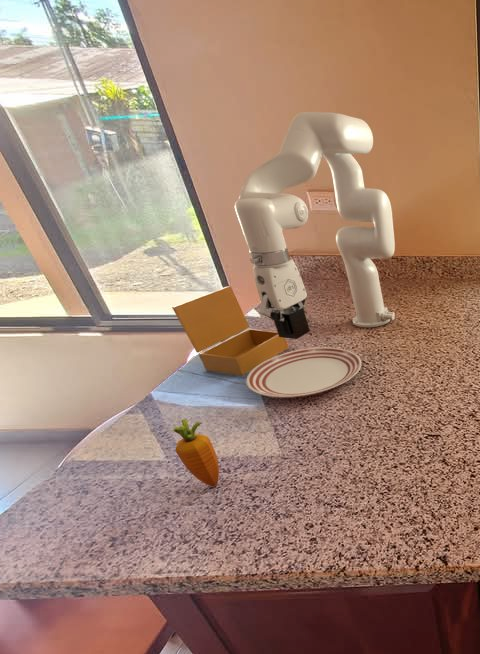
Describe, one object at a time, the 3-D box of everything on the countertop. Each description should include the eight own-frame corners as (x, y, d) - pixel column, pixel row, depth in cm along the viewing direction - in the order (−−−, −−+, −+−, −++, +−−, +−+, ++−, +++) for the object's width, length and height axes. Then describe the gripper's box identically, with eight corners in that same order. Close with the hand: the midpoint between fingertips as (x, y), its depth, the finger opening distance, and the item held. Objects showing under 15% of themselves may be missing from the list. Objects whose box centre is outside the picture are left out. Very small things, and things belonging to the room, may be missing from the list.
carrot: (208, 477, 82) (174, 414, 74) (235, 476, 82) (204, 413, 74) (193, 496, 78) (155, 432, 70) (221, 495, 78) (187, 430, 70)
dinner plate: (339, 346, 130) (336, 337, 129) (380, 380, 114) (378, 369, 112) (237, 377, 114) (233, 366, 112) (269, 421, 97) (264, 409, 96)
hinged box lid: (230, 285, 120) (215, 286, 122) (174, 307, 106) (157, 307, 107) (249, 327, 127) (234, 326, 128) (198, 352, 112) (182, 352, 114)
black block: (310, 331, 109) (303, 307, 105) (296, 339, 104) (289, 314, 101) (293, 329, 109) (285, 305, 106) (279, 337, 105) (271, 312, 102)
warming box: (289, 349, 128) (283, 332, 125) (243, 377, 114) (236, 359, 111) (255, 345, 130) (249, 328, 127) (206, 372, 116) (198, 353, 113)
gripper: (256, 268, 89) (282, 346, 99) (310, 249, 103) (328, 319, 113) (226, 265, 90) (254, 342, 100) (283, 247, 104) (303, 316, 114)
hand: (293, 329), depth 106 cm, fingers closed on black block, 5 cm apart
